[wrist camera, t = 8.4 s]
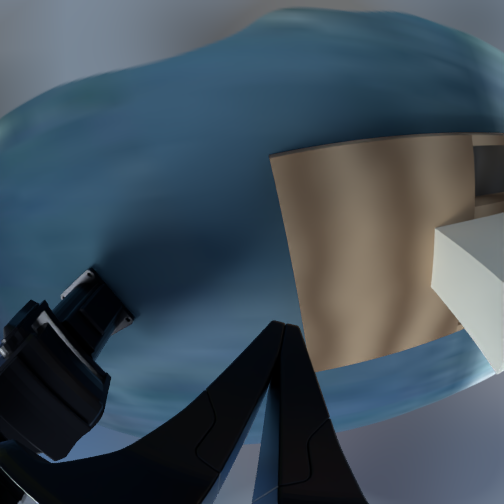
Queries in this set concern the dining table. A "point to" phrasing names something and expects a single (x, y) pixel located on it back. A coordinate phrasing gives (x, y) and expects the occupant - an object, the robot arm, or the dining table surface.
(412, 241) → the trap deck
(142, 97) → the dining table surface
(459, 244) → the light gray block
